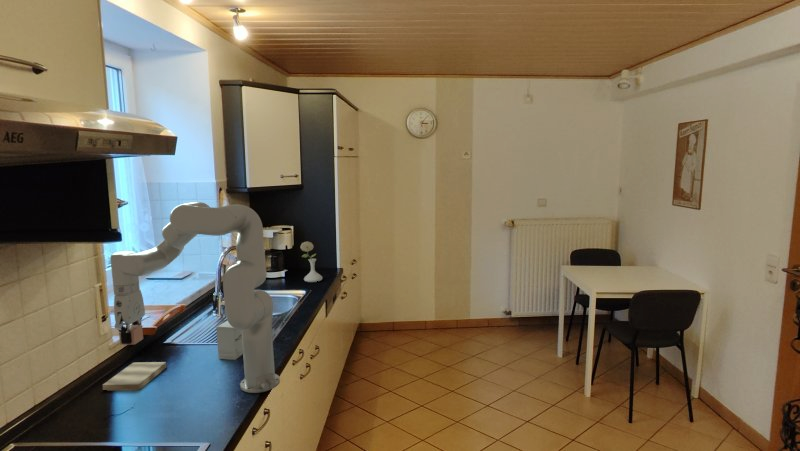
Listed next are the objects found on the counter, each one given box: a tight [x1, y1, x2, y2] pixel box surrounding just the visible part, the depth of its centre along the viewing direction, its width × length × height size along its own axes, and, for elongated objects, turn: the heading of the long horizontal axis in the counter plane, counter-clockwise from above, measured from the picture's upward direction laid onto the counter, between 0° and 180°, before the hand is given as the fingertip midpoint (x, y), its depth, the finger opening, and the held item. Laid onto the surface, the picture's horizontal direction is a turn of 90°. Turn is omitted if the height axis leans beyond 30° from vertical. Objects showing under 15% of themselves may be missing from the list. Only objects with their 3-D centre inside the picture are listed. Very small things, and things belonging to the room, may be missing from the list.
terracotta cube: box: [118, 324, 144, 346], centre depth 159 cm, size 5×5×5 cm
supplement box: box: [215, 320, 243, 361], centre depth 177 cm, size 7×7×13 cm
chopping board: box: [102, 361, 167, 391], centre depth 161 cm, size 17×12×2 cm
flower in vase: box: [300, 241, 323, 283], centre depth 286 cm, size 13×11×25 cm
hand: (131, 339), depth 159 cm, fingers closed on terracotta cube, 5 cm apart
